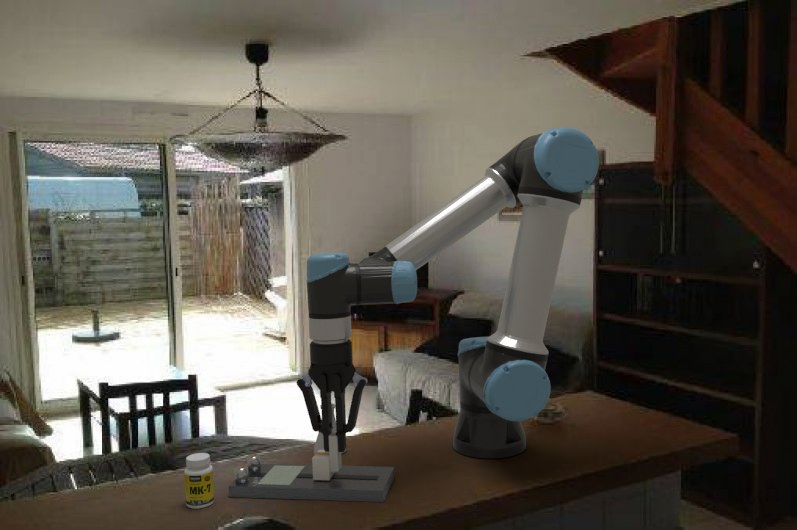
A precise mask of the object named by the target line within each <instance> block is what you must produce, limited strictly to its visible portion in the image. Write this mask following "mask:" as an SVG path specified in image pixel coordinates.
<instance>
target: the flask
mask: <svg viewBox="0 0 797 530" xmlns="http://www.w3.org/2000/svg"><path fill="white" fill-rule="evenodd" d="M331 406H332V427H333V429H332V431H336V414H335V403H333V402H331ZM320 409H321V405H320ZM318 450H324V439H323V434H322V433H321V432H318V433H317V437H316V440H315V442H314V447H313V451H312V452H313V453H312V454H313V456H314V455H315V453H316V452H317V451H318ZM346 452H347V448H346V449H345V451H344V452H341V455H342V454H344V453H346Z"/></svg>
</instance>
